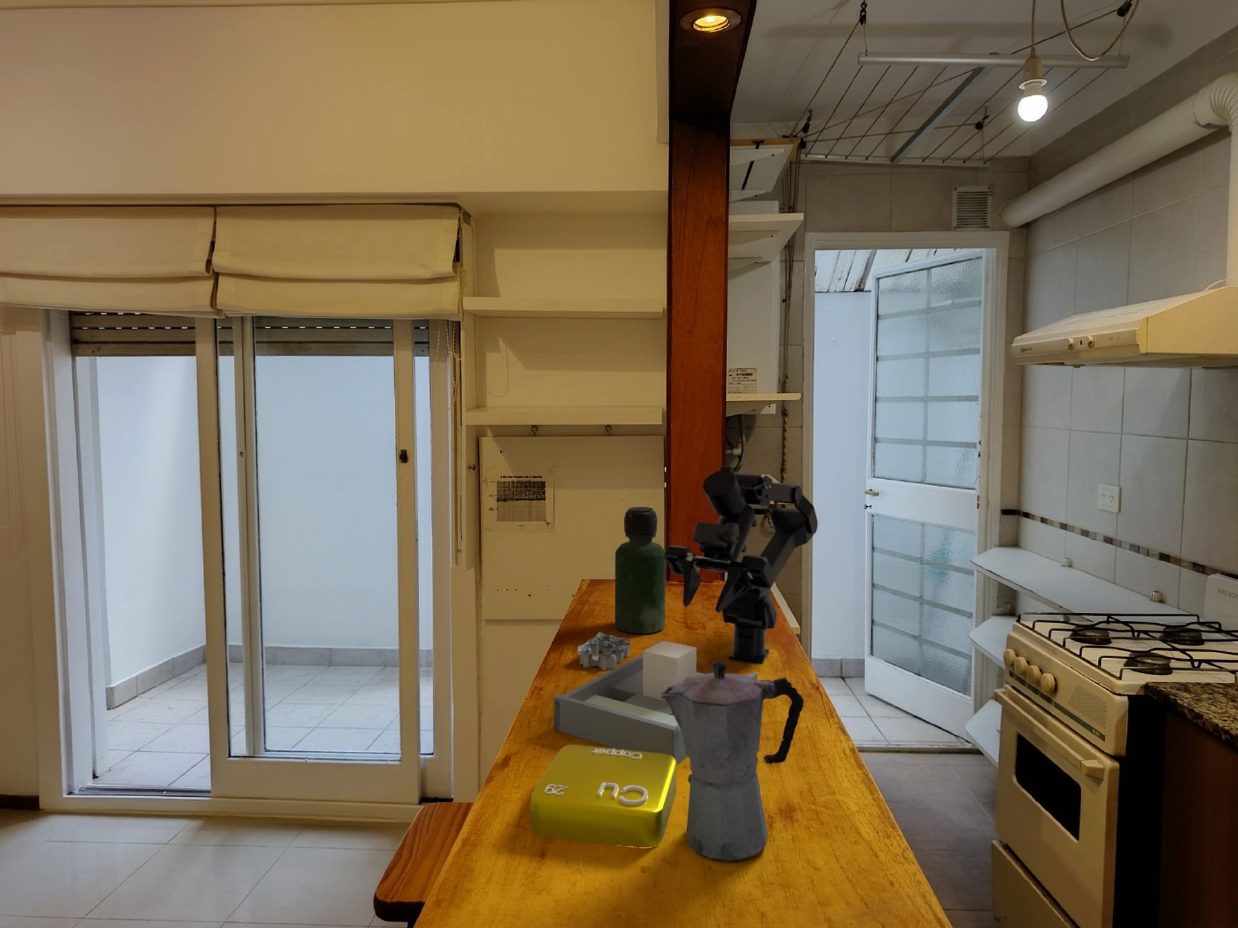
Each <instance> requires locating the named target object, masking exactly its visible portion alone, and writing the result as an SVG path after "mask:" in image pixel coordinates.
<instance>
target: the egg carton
mask: <svg viewBox="0 0 1238 928" xmlns="http://www.w3.org/2000/svg"><path fill="white" fill-rule="evenodd" d="M631 646H632V640H631V639H629V640H628V641H626V640H625V639H624V637H622V636H621V637H618V636H615V635H614V636H613V635H611V634H610V635H607V634H605V633H603V632H598V633H597V634H596V635H595V636H594V637H592V638H589V639H588V640H587V642H585V643H584V644H583V645H578V646H577V654H578V655H579V665H581V664H583V665H582V667H583V668H586V667H588V668H587V669H589V668H592V667H591V666H598V667H597V668H600V667H601V668H600V670H601V669H602V670H601V671H608V670H613V669H615V667H616V668H617V664H622V663H623V659H624V658H629V657H630V647H631ZM598 650H603V651H602V653H600V654H599V651H598ZM596 655H598V656H596ZM628 656H629V657H628ZM621 662H622V663H621ZM607 669H608V670H607Z"/></svg>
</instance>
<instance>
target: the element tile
mask: <svg viewBox="0 0 1238 928" xmlns="http://www.w3.org/2000/svg"><path fill="white" fill-rule="evenodd" d="M676 793H677V765H676V760H675V758H673V757H672V756H671V755H667V754H662V753H653V752H643V751H634V750H624V749H615V748H611V747H605V746H604V747H602V746H595V745H594V746H593V745H583V744H567V745H565V746H563V747H562V748H561V749H560V750H558V752H557V753H556V755H555V757H554V758H553V759H552V761H551V763H550V765H549V766H548V767H547V769H546V771H545V772H544V774H543V775H542V777H541V778H540V779H539V782H538V783H537V785H536V786H535V787H534V789H533V791H532V793H531V795H530V825H531V826H530V827H531V828H530V829H531V831H532V832H533V834H535V835H537V836H541V837H544V838H551V839H559V840H566V841H573V842H582V843H590V844H596V843H599V844H598V845H604V844H608V845H607V846H612V845H621V846H634V847H637V848H639V847H650V846H651V847H652V846H655V845H658V844H659V843H660V842H661V841H662V842H663V840H664V837H663V836H665V832H666V830H665V829H667V825H668V823H667V822H669V818H670V815H671V813H672V808H673V804H674V802H675V796H676ZM662 839H663V840H662ZM662 842H661V843H662ZM661 843H660V844H661ZM660 844H659V845H660ZM659 845H658V846H659Z"/></svg>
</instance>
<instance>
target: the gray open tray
mask: <svg viewBox="0 0 1238 928" xmlns="http://www.w3.org/2000/svg"><path fill="white" fill-rule="evenodd" d="M704 674H705V673H702V672H698V671H696V676H698V675H704ZM758 675H759V674H758V673H755V672H751V673H749V674H747V675H746V676H747V677H749V678H751V679H753V680H755V681H758ZM553 697H554V698H553V700H554V701H553V707H554V708H553V709H554V710H553V714H554V715H553V722H554V724H553V725H554V726H553V727H554V730H555V731H557V732H559V733H560V732H561V733H563V734H565V735H570V736H573V737H576V738H579V739H583V740H586V741H589V742H592V743H595V744H600V745H602V746H604V747H605V746H606V747H607V748H615V749H624V750H634V751H643V752H653V753H662V754H667V755H671V756H672V757H673V758H675V760H676V766H677V765H678V764H680V763H681V762H682V761H684V760H685V759H686V758H687V757H688V756H687V754H686V751H685V745H684V739H683V733H682V731H681V728H680V727H679V725H678V723H677V721H676V719H675V717H674V715H673V713H672V711H671V709H670V707H669V705H668V703H667V701H663V700H660V699H656V698H652V697H648V696H644V695H643V653H642V654H640V655H638V656H636V657H634V658H632V659H630V660H628V661H626V662H624V663H621V664H620V665H619V666H616V668H615V669H610V670H609V671H607V672H605V673H603V674H601V675H599V676H597V677H596V678H594V679H591V680H590V681H588V682H586V683H584V684H582V685H580V686H578V687H576V688H574V689H572V690H571V691H569V692H567V693H564V694H560V693H559V694H556V695H554V696H553Z"/></svg>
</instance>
